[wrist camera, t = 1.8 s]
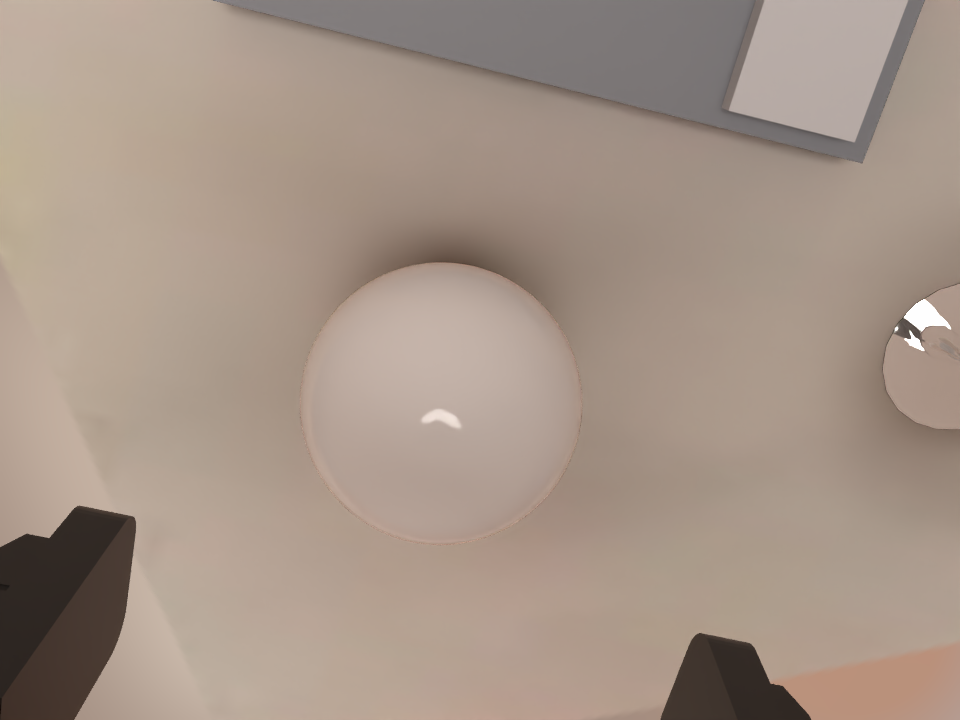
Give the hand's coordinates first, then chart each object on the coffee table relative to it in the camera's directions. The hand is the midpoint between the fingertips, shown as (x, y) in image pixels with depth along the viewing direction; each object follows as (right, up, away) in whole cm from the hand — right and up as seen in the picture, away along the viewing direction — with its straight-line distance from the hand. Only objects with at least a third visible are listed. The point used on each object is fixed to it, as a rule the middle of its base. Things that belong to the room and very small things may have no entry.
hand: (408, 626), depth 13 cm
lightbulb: (0, +6, +15) cm, 16 cm away
